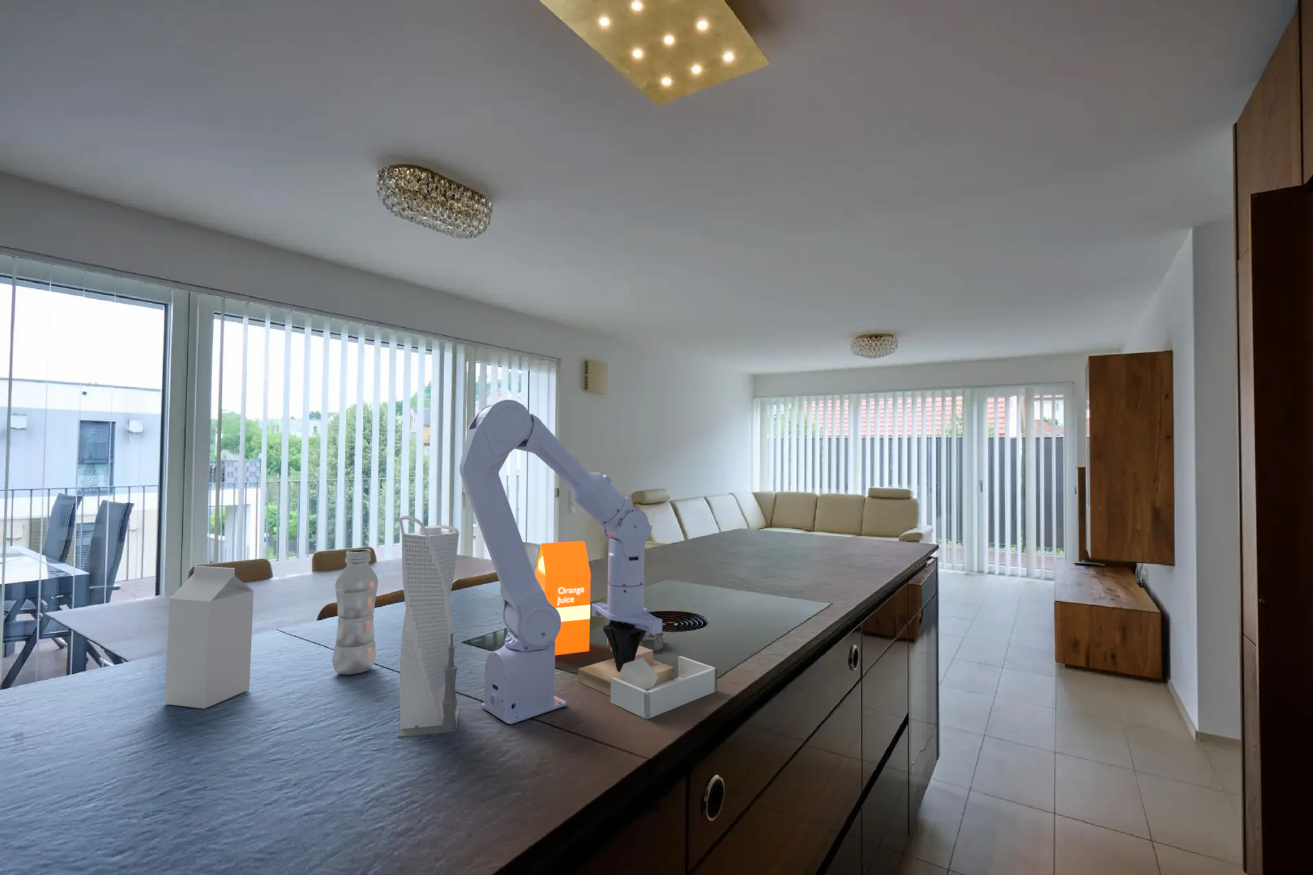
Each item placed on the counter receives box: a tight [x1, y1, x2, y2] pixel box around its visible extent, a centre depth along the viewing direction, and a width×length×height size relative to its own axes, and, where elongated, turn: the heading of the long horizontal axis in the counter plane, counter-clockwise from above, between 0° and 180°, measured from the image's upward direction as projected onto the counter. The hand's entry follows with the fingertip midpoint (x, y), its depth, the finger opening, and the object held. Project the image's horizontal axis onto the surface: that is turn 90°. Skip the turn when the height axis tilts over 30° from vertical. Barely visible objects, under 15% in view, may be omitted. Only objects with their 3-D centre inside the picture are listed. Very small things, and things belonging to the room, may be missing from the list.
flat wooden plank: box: [577, 657, 675, 697], centre depth 95 cm, size 12×10×2 cm
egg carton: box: [606, 631, 666, 653], centre depth 113 cm, size 11×8×4 cm
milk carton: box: [164, 565, 255, 709], centre depth 86 cm, size 7×7×19 cm
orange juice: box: [535, 540, 592, 656], centre depth 112 cm, size 8×9×20 cm
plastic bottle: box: [331, 548, 379, 675], centre depth 97 cm, size 6×7×20 cm
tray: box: [610, 655, 718, 720], centre depth 89 cm, size 15×8×4 cm, turn 134°
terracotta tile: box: [635, 646, 654, 664], centre depth 98 cm, size 4×4×2 cm
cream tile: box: [619, 658, 658, 690], centre depth 89 cm, size 4×4×2 cm
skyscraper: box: [397, 515, 460, 738], centre depth 80 cm, size 8×8×28 cm
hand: (624, 670), depth 92 cm, fingers closed
